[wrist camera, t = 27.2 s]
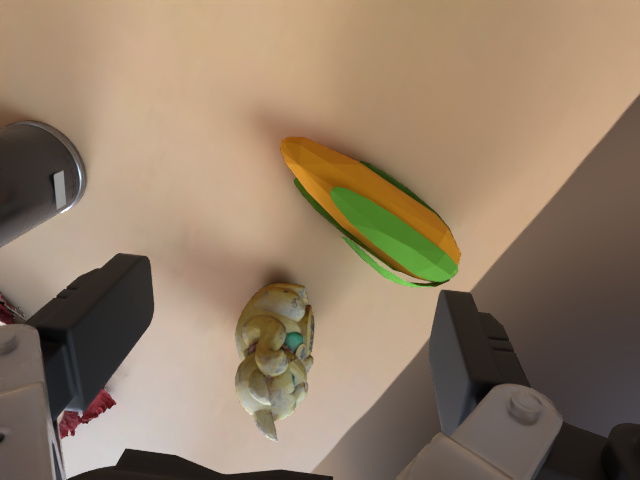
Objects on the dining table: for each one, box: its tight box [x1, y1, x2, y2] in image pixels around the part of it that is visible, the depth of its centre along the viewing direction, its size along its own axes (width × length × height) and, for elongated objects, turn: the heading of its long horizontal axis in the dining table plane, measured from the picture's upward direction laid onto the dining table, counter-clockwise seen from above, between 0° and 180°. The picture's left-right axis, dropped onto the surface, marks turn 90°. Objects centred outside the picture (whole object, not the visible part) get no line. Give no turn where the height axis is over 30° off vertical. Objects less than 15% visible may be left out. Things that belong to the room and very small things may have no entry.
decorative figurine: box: [235, 283, 314, 441], centre depth 45 cm, size 10×8×15 cm
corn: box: [280, 137, 461, 287], centre depth 42 cm, size 7×8×20 cm
